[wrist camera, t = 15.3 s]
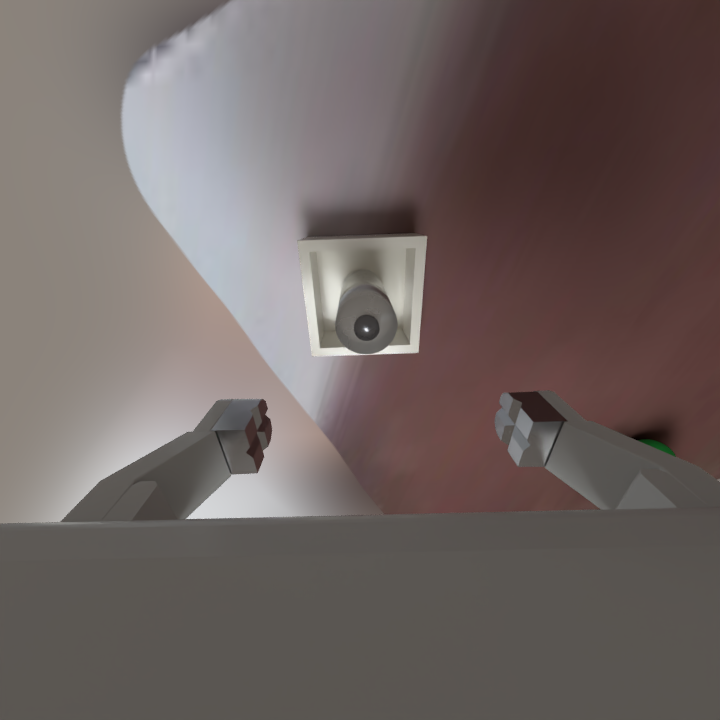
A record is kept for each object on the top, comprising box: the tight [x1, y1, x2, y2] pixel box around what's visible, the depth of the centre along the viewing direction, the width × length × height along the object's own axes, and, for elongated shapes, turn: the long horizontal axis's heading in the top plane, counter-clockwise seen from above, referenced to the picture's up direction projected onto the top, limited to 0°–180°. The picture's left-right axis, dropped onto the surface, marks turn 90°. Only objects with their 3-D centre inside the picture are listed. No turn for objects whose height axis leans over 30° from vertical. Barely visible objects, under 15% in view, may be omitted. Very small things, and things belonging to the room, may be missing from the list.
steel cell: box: [335, 269, 398, 354], centre depth 21 cm, size 4×4×10 cm
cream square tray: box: [297, 233, 427, 357], centre depth 24 cm, size 10×10×4 cm
